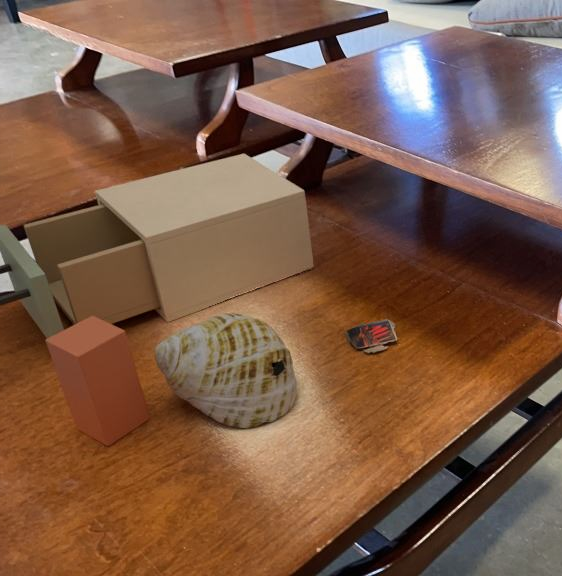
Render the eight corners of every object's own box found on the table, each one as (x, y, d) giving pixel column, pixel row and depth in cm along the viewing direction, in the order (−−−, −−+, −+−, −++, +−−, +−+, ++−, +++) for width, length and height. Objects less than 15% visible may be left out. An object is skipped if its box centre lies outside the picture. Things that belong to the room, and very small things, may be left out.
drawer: (2, 370, 67) (-29, 295, 63) (-33, 311, 74) (-62, 241, 70) (217, 293, 79) (204, 225, 74) (168, 249, 86) (153, 186, 82)
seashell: (321, 403, 64) (250, 332, 58) (224, 468, 64) (140, 404, 57) (296, 335, 72) (231, 265, 65) (208, 392, 71) (133, 328, 64)
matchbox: (341, 333, 74) (340, 329, 74) (388, 318, 77) (387, 314, 77) (362, 358, 71) (362, 354, 71) (410, 340, 74) (410, 336, 73)
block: (108, 447, 60) (77, 356, 56) (76, 429, 62) (44, 339, 57) (150, 418, 63) (125, 330, 59) (119, 402, 65) (92, 314, 60)
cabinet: (167, 322, 75) (145, 237, 70) (116, 270, 83) (94, 190, 78) (314, 268, 85) (304, 190, 80) (256, 226, 93) (244, 153, 88)
